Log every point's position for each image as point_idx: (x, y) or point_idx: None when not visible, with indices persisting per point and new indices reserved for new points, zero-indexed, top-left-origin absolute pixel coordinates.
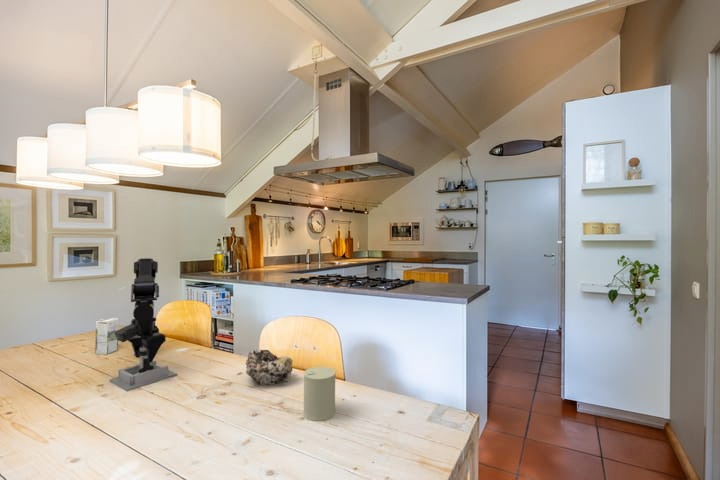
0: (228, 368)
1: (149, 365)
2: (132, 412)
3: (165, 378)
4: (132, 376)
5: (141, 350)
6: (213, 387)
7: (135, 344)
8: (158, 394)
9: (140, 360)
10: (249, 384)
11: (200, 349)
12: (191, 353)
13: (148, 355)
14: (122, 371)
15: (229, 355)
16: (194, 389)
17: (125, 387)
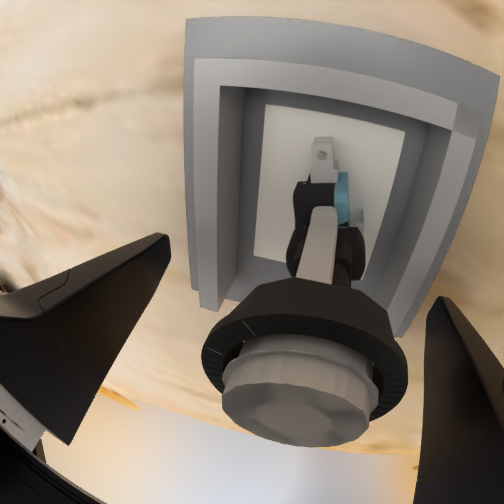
0: (128, 358)
1: (290, 267)
2: (12, 7)
3: (191, 234)
4: (194, 67)
5: (273, 350)
6: (26, 242)
7: (479, 432)
8: (55, 113)
9: (322, 254)
10: (16, 282)
11: (374, 448)
12: (376, 432)
13: (81, 264)
14: (417, 99)
15: (233, 427)
16: (33, 209)
17: (232, 24)
